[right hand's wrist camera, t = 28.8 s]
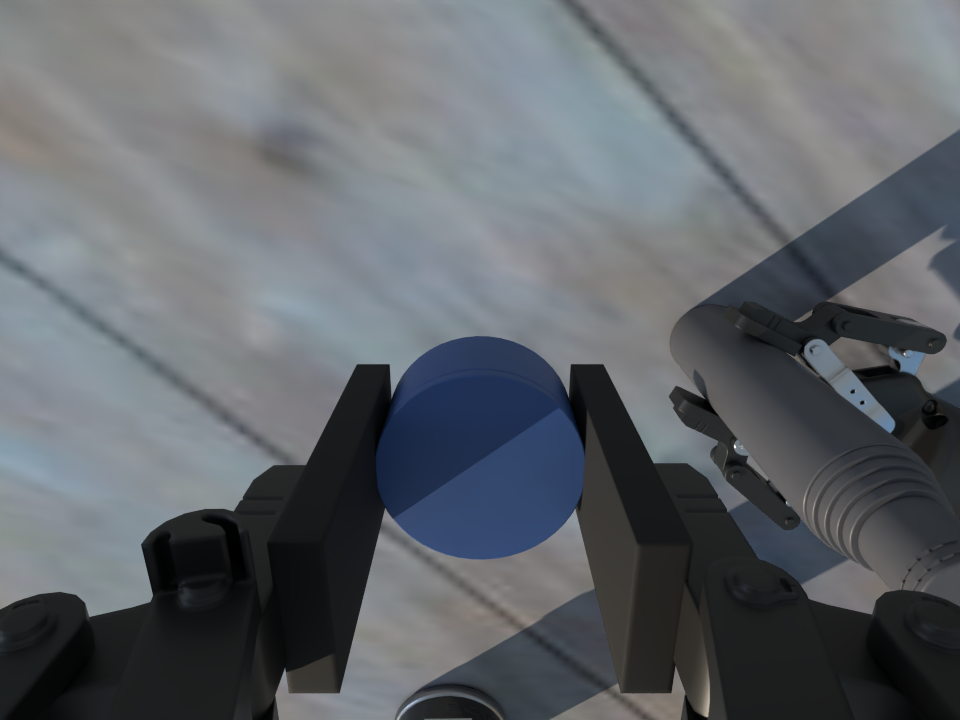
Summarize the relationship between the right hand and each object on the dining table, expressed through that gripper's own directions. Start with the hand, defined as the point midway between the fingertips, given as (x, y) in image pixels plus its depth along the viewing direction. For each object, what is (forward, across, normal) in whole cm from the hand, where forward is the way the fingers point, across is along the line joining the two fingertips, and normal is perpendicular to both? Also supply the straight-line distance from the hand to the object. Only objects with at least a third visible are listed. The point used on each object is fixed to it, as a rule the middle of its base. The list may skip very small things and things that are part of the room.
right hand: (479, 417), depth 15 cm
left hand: (+18, +12, -5) cm, 22 cm away
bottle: (+24, +14, -6) cm, 29 cm away
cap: (-2, 0, 0) cm, 2 cm away
